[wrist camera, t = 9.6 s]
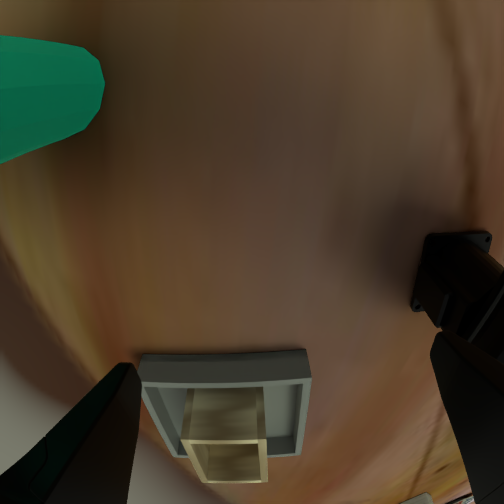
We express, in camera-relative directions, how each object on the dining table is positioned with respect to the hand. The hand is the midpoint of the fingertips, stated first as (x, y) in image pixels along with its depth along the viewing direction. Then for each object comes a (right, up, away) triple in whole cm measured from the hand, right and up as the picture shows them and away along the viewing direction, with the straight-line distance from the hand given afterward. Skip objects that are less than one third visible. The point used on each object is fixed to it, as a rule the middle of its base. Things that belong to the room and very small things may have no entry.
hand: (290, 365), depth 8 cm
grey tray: (-3, -11, +19) cm, 22 cm away
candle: (-12, +13, +7) cm, 19 cm away
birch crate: (-3, -11, +18) cm, 22 cm away
